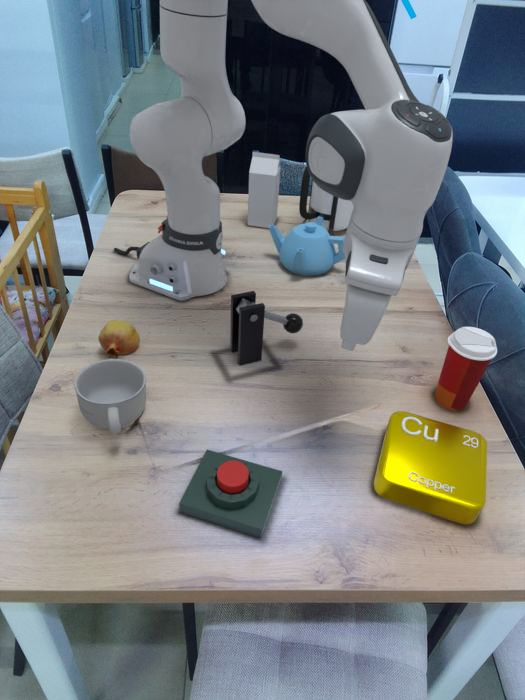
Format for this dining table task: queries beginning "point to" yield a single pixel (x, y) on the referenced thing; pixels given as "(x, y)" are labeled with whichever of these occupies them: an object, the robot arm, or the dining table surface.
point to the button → (232, 477)
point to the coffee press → (324, 206)
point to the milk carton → (263, 189)
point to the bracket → (247, 328)
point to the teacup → (111, 393)
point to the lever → (279, 318)
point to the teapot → (308, 248)
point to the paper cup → (464, 366)
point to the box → (231, 495)
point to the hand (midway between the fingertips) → (351, 325)
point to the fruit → (118, 338)
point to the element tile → (433, 467)
